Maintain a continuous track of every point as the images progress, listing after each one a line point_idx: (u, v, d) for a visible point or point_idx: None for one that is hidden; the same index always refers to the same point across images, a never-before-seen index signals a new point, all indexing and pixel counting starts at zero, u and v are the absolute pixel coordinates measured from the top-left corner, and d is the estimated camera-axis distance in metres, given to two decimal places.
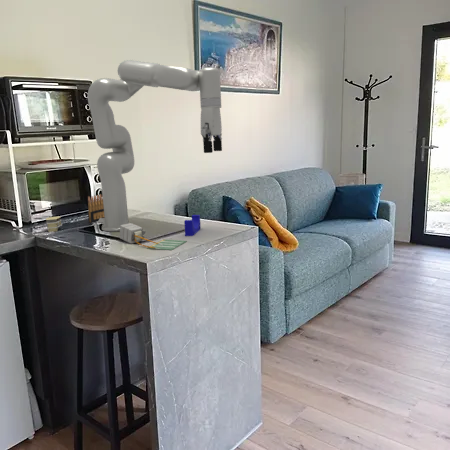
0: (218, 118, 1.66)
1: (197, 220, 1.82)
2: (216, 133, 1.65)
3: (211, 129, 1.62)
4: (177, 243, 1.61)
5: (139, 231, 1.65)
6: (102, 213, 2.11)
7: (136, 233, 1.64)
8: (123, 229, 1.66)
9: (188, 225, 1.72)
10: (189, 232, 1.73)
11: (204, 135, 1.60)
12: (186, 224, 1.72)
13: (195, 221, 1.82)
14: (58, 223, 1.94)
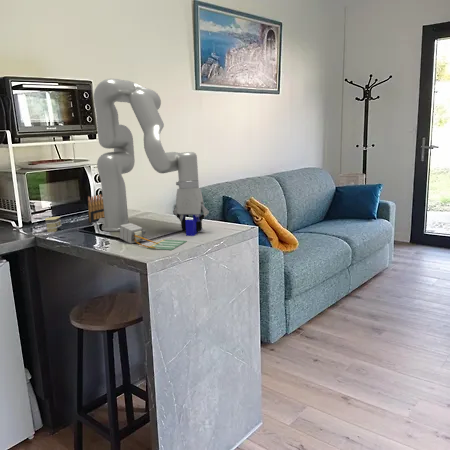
0: None
1: None
2: None
3: None
4: (177, 243, 1.61)
5: (139, 231, 1.65)
6: (102, 213, 2.11)
7: (136, 233, 1.64)
8: (123, 229, 1.66)
9: (189, 225, 1.72)
10: (190, 232, 1.73)
11: (205, 215, 1.75)
12: (187, 224, 1.72)
13: (196, 221, 1.82)
14: (57, 223, 1.93)
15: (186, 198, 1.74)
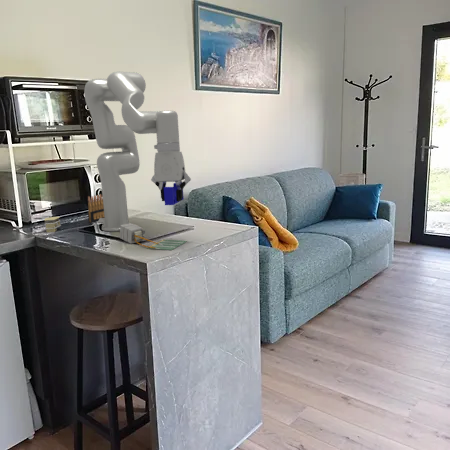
0: None
1: None
2: None
3: None
4: (177, 243, 1.61)
5: (139, 231, 1.65)
6: (102, 213, 2.11)
7: (136, 233, 1.64)
8: (123, 229, 1.66)
9: (167, 192, 1.53)
10: (169, 200, 1.53)
11: None
12: (166, 191, 1.53)
13: None
14: (57, 223, 1.93)
15: (165, 163, 1.54)
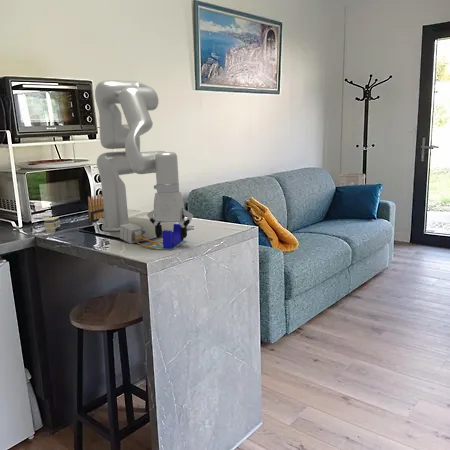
0: None
1: (179, 230, 1.63)
2: None
3: None
4: None
5: (139, 231, 1.65)
6: (102, 213, 2.11)
7: (136, 233, 1.64)
8: (123, 229, 1.66)
9: (166, 236, 1.54)
10: (167, 244, 1.54)
11: (190, 220, 1.55)
12: (164, 235, 1.54)
13: (177, 231, 1.63)
14: (56, 224, 1.93)
15: (164, 204, 1.54)
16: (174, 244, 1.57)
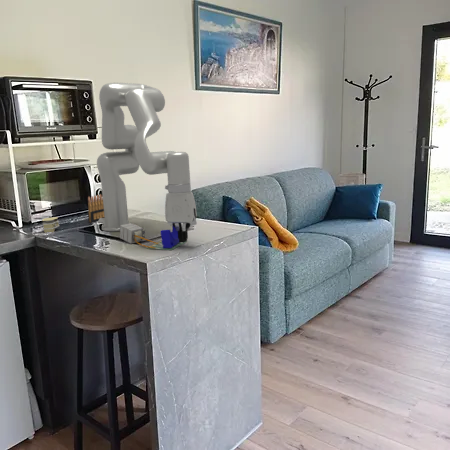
0: None
1: None
2: None
3: (196, 214, 1.56)
4: (177, 243, 1.61)
5: (139, 231, 1.65)
6: (102, 213, 2.11)
7: (136, 233, 1.64)
8: (123, 229, 1.66)
9: (164, 235, 1.54)
10: (167, 243, 1.54)
11: None
12: (163, 235, 1.54)
13: None
14: (55, 224, 1.92)
15: (176, 204, 1.53)
16: (173, 243, 1.57)
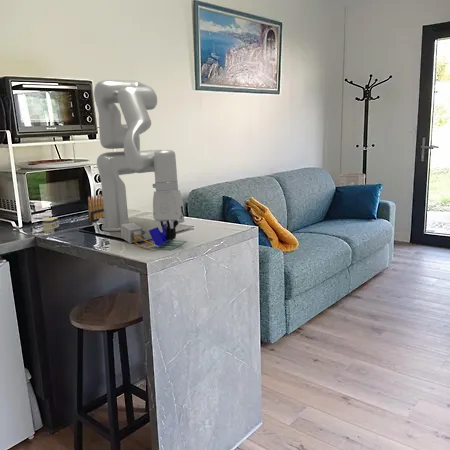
0: None
1: None
2: None
3: None
4: (177, 243, 1.61)
5: (139, 231, 1.65)
6: (102, 213, 2.11)
7: (135, 233, 1.64)
8: (123, 228, 1.67)
9: (154, 234, 1.55)
10: (158, 241, 1.55)
11: None
12: (152, 233, 1.55)
13: None
14: (55, 224, 1.92)
15: (163, 202, 1.54)
16: (165, 239, 1.57)
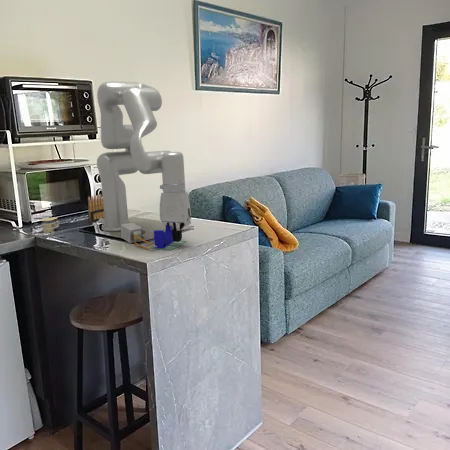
0: None
1: (171, 230, 1.64)
2: None
3: (190, 214, 1.57)
4: (177, 243, 1.61)
5: (139, 231, 1.65)
6: (102, 213, 2.11)
7: (135, 233, 1.64)
8: (123, 228, 1.67)
9: (157, 236, 1.54)
10: (159, 244, 1.55)
11: None
12: (155, 235, 1.55)
13: (169, 231, 1.64)
14: (54, 224, 1.92)
15: (170, 204, 1.54)
16: (166, 244, 1.57)
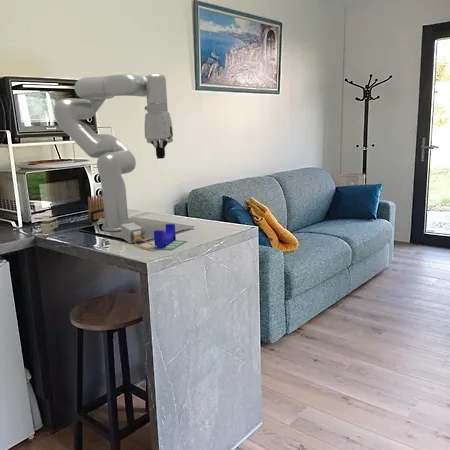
0: None
1: (171, 230, 1.64)
2: None
3: (172, 132, 1.72)
4: (177, 243, 1.61)
5: (139, 231, 1.65)
6: (102, 213, 2.11)
7: (135, 233, 1.64)
8: (124, 228, 1.67)
9: (157, 236, 1.54)
10: (159, 244, 1.55)
11: None
12: (156, 235, 1.55)
13: (169, 231, 1.64)
14: (53, 224, 1.91)
15: (154, 122, 1.69)
16: (166, 244, 1.57)
